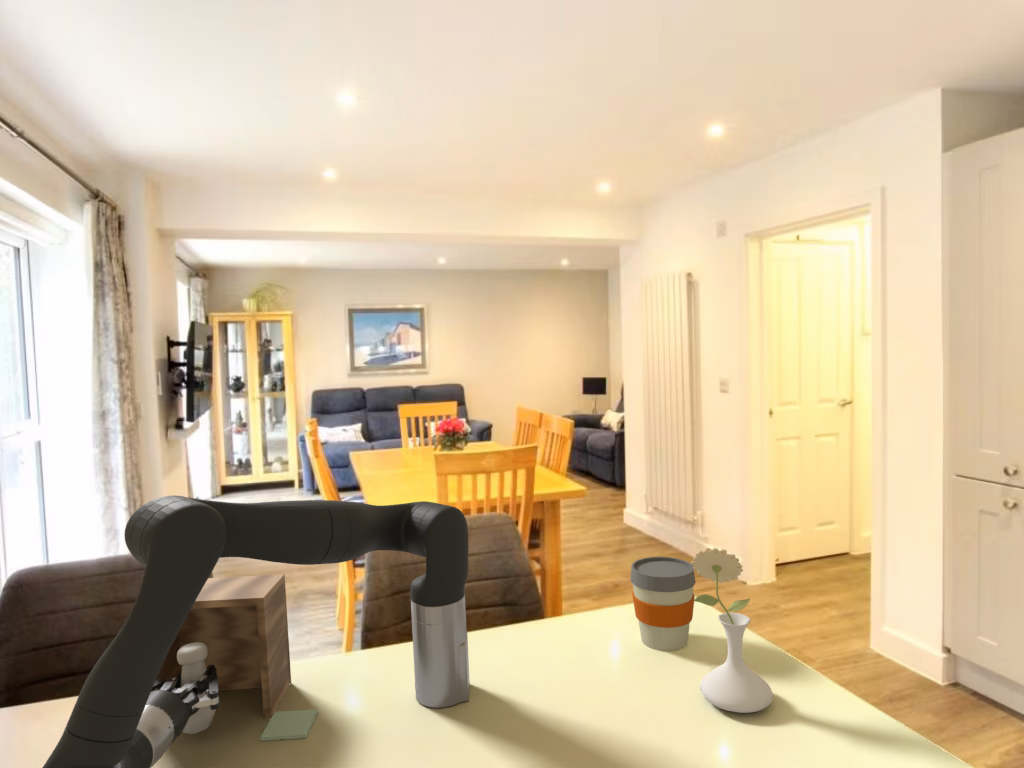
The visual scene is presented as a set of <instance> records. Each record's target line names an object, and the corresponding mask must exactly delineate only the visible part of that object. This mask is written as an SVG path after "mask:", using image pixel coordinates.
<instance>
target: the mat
mask: <svg viewBox="0 0 1024 768" xmlns="http://www.w3.org/2000/svg"><path fill="white" fill-rule="evenodd" d="M318 711H319V710H318V708H317V709H314V708H313V709H302V710H301V709H300V710H299V709H298V710H283V711H282V710H281V711H275V712H274V713H273V715H272V717H270V720H269V721H268V723H267V725H266V726H265V728H264V730H263V732H262V734H261V735H260V740H259V741H260V742H265V741H277V740H278V741H280V739H281V740H282V739H283V740H295V739H296V740H298V739H306V738H307V737H308V735H309V733H310V730H311V728H312V726H313V724H314V722H315V720H316V718H315V717H317V716H316V715H318V714H319V712H318Z"/></svg>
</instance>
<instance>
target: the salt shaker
mask: <svg viewBox="0 0 1024 768" xmlns="http://www.w3.org/2000/svg"><path fill="white" fill-rule="evenodd" d="M207 655H208V649H207V646H206V645H205V644H204V643H202V642H194V643H189V644H186V645H184V646H182V647H181V648H180V649H179V650H178V652H177V661H178V663H179V664H180V665H183V667H182V674H181V682H180V688H182V687H183V686H184V685H185V684H187V683H188V682H189V681H190V680H196V679H197V678H198V677H199V676H201V675H203V674H204V673H205V671H206V670H207V669H206V665H205V661H204V660H205V659H206V657H207ZM203 696H204V695H203ZM203 696H202V697H203ZM202 697H201V698H202ZM216 711H217V709H215V710H211V709H210V706H209V707H207V706H205V707H201V708H199V710H198V712H196V713H195V714H193V715H192V716H190V717H189V719H188V721H187V724H186V726H185V728H184V730H183V731H182V733H183V734H191V735H194V734H197V733H201V732H203V731H205V730H207V729H208V728H209V727H210V725H211V724H212V722H213V719H214V717H215V714H216Z"/></svg>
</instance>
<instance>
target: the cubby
mask: <svg viewBox="0 0 1024 768" xmlns="http://www.w3.org/2000/svg"><path fill="white" fill-rule="evenodd" d="M286 593H287V592H286V577H285V574H284V573H283V574H282V573H281V574H280V573H278V574H263V575H262V574H261V575H246V576H245V575H240V576H224V577H209V578H208V580H207V581H206V583H205V585H204V586H203V588H202V590H201V592H200V593H199V595H198V597H197V599H196V601H195V602H194V604H193V606H192V608H191V610H190V612H189V614H188V615H187V617H186V619H185V621H184V623H183V625H182V627H181V628H180V630H179V632H178V634H177V636H176V638H175V640H174V642H173V644H172V646H171V648H170V650H169V652H168V654H167V656H166V658H165V660H164V662H163V664H162V667H161V669H160V671H159V673H158V676H157V678H156V680H155V681H157V680H159V679H165V681H168V680H169V679H170V678H171V677H174V676H176V675H177V674H178V673H179V672H180V671H182V667H183V665H180V664H179V663H178V661H177V652H178V650H179V649H180V648H181V647H182V646H184V645H186V644H189V643H194V642H202V643H204V644H205V645H206V646H207V649H208V655H207V657H206V659H205V660H204V661H205V665H206V668H207V667H208V666H209V665H215V668H216V669H217V679H218V691H231V690H232V691H233V690H249V689H248V688H252V689H258V688H257V687H262V688H261V692H262V694H261V695H262V709H263V710H262V711H263V718H264V717H267V718H272V717H271V716H273V715H272V714H274V713H275V712H276V710H277V708H278V706H279V705H280V703H281V701H282V700H281V698H282V697H283V698H284V696H285V695H286V693H287V691H288V689H289V688H288V687H290V686H289V684H290V683H291V684H292V673H291V670H292V669H291V658H290V643H289V641H290V640H289V639H290V638H289V626H288V625H289V623H288V609H287V594H286ZM291 684H290V685H291ZM287 688H288V689H287ZM286 690H287V691H286ZM153 691H156V689H154V690H153ZM285 692H286V693H285ZM283 695H284V696H283ZM283 698H282V699H283ZM280 700H281V701H280ZM279 702H280V703H279ZM278 704H279V705H278ZM277 705H278V706H277ZM276 707H277V708H276ZM275 709H276V710H275ZM274 711H275V712H274ZM273 712H274V713H273Z"/></svg>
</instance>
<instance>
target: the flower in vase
mask: <svg viewBox="0 0 1024 768" xmlns="http://www.w3.org/2000/svg"><path fill="white" fill-rule="evenodd" d="M690 564H692V565H693V567H694V571H695V572H697V575H699V576H701V577H702V578H703V579H706V580H709V579H710V581H711V582H713V583H715V595H716V597H714V596H712V595H709V594H707V593H705V594H704V593H702V594H700V595H698V596H697V597H695V599H694V602H697V603H700V604H704V605H706V606H710V607H713V606H715V605H717V604H718V603H719V604H720V606H721V607H722V608H723V610H724V611H725V612H723V613H720V614H719V615H718V617H717V618H718V621H719V622H720V624H721V625H722V627H723V629H724V632H725V636H726V642H727V656H726V659H725V662H723V663H722V664H721V665H719V666H717V667H715V668H714V669H712V670H710V671H709V672H707V674H705V675H704V676H703V677H702V679H701V681H700V684H699V691H700V692H701V694H702V696H703V697H704V699H705V700H706V701H707V702H708V703H710V704H711V705H713V706H715V707H716V708H719V709H722V710H723V711H724V710H725V711H730V712H733V713H742V714H743V713H744V714H747V713H748V714H749V713H750V714H751V713H756V712H760V711H762V710H765V709H766V708H768V707H769V705H770V704H771V703H772V702H773V700H774V693H773V690H772V688H771V686H770V685H769V683H768V682H766V680H765V679H764V678H762V677H761V676H760V675H759V674H758V673H756V672H755V671H754V670H752V668H750V667H748V665H747V664H745V662H744V661H745V660H744V658H743V641H744V634H745V631H746V629H747V627H748V625H750V623H751V622H752V621H751V618H750V617H748V616H747V615H745V614H743V613H740V612H739V611H741V610H743V609H744V608H746V606H748V604H749V603H750V600H751V597H749V598H746V599H738V600H735V601H733V602H732V603H731V604H730V606H729V607H728V608H726V606H725V605H724V604H723V602H722V600H721V599H720V595H719V583H724V582H727V583H728V582H731V581H733V580H734V581H737V580H738V579H739V576H741V575H742V572H744V569H743V565H742V564H741V563H740V559H739V558H738V557H736V555H735V554H733V553H728V552H727V550H726V549H721V550H719V548H717V547H714V548H712V549H711V548H710V547H706V548H705V550H699V551H698V552H697V553H695V556H694V557H693V559H692V561H691V563H690ZM738 612H739V613H738Z"/></svg>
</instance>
